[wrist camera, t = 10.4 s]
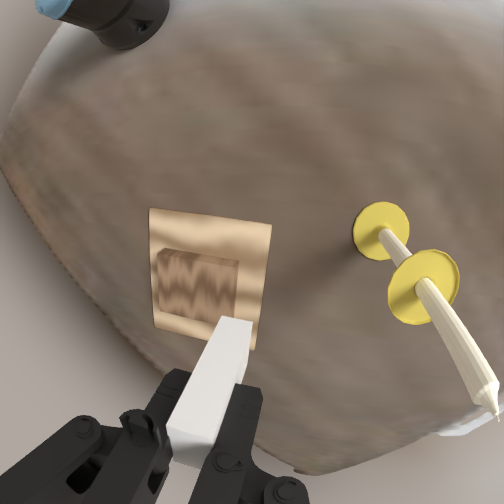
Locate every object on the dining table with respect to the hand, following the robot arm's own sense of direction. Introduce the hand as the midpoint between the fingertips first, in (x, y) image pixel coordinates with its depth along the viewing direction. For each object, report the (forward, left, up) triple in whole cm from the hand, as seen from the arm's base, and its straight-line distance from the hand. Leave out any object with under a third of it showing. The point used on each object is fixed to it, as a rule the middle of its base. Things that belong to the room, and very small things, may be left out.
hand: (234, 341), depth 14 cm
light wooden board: (+17, -13, -34) cm, 40 cm away
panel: (+17, -7, -32) cm, 37 cm away
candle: (+2, +16, -35) cm, 38 cm away
